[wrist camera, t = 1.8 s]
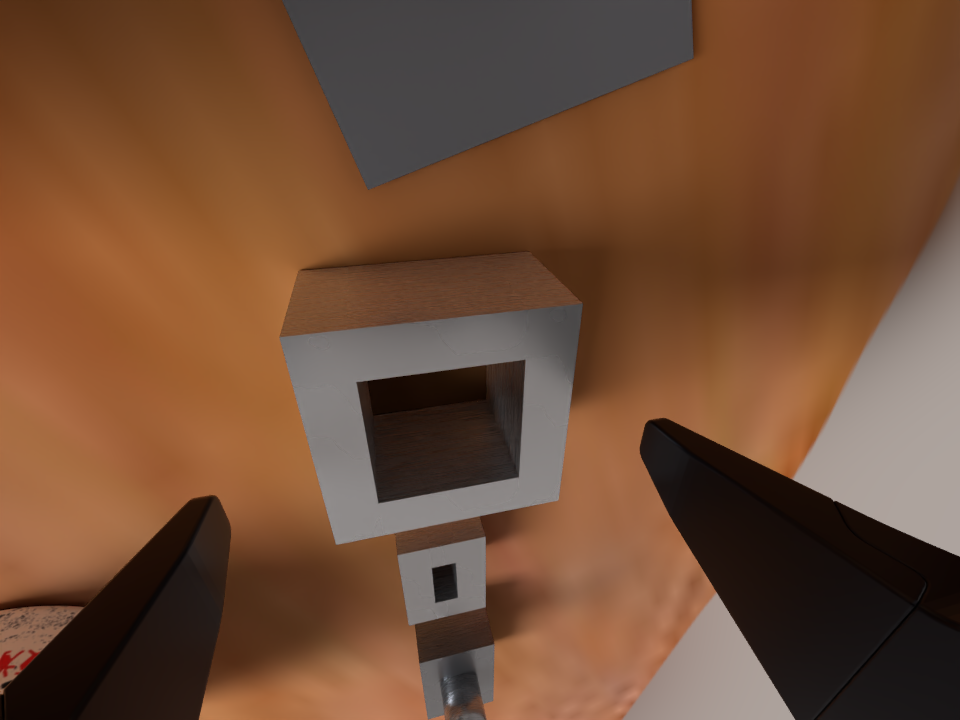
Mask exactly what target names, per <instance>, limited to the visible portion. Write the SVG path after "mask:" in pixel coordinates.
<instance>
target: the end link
mask: <svg viewBox="0 0 960 720" xmlns="http://www.w3.org/2000/svg"><path fill="white" fill-rule="evenodd" d="M582 307H583V303H582V302H581V301H580V300H579V299H578V298H577V297H576V296H575V295H574V294H573V293H572V292H570V291H569V290H568V289H567V288H566V287H565V286H564V285H563V284H562V283H561V282H560V281H559V280H558V279H557V278H556V277H555V276H554V275H553V274H552V273H551V272H550V271H549V270H548V269H547V268H546V267H545V266H544V265H543V264H542V263H541V262H540V261H538V260H537V259H536V258H535V257H534V256H533V255H532V254H531V253H530V252H529V251H527V252H515V253H504V254H492V255H480V256H468V257H456V258H445V259H433V260H421V261H409V262H397V263H385V264H374V265H362V266H350V267H338V268H326V269H315V270H303V271H298V274H297V277H296V281H295V285H294V288H293V292H292V295H291V299H290V302H289V306H288V309H287V313H286V316H285V320H284V323H283V327H282V330H281V334H280V341H281V345H282V348H283V352H284V356H285V359H286V363H287V367H288V370H289V374H290V378H291V381H292V385H293V389H294V392H295V396H296V400H297V403H298V407H299V411H300V414H301V418H302V422H303V425H304V429H305V433H306V436H307V440H308V444H309V447H310V451H311V455H312V458H313V462H314V466H315V469H316V473H317V477H318V480H319V484H320V488H321V491H322V495H323V499H324V502H325V506H326V510H327V513H328V517H329V521H330V524H331V528H332V532H333V535H334V539H335V543H336V545H338V544H343V543H348V542H353V541H358V540H363V539H368V538H373V537H378V536H383V535H388V534H393V533H398V532H403V531H408V530H413V529H418V528H423V527H428V526H433V525H438V524H443V523H448V522H453V521H458V520H463V519H468V518H473V517H478V516H483V515H488V514H493V513H498V512H503V511H508V510H513V509H518V508H523V507H528V506H533V505H538V504H543V503H548V502H553V501H558V500H559V492H560V484H561V476H562V468H563V460H564V452H565V444H566V436H567V428H568V420H569V412H570V404H571V395H572V387H573V379H574V371H575V363H576V355H577V347H578V339H579V331H580V323H581V315H582ZM482 365H486V399H483V400H476V401H469V402H462V403H456V404H449V405H442V406H436V407H429V408H422V409H415V410H409V411H402V412H395V413H388V414H382V415H375V416H373V413H372V406H371V400H370V394H369V388H368V382H367V381H369V380H377V379H384V378H392V377H399V376H407V375H414V374H422V373H429V372H437V371H444V370H452V369H459V368H467V367H474V366H482Z"/></svg>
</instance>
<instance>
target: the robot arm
mask: <svg viewBox="0 0 960 720" xmlns="http://www.w3.org/2000/svg"><path fill="white" fill-rule="evenodd" d="M640 455H641V458H642V460H643V462H644V464H645V466H646V468H647V470H648V472H649V474H650V476H651V479H652V481H653V483H654V485H655V487H656V489H657V491H658V493H659V495H660V497H661V499H662V501H663V503H664V505H665V507H666V509H667V511H668V513H669V515H670V517H671V519H672V520H673V522H674V524H675V525H676V527H677V529H678V530H679V532H680V533H681V535H682V537H683V538H684V540H685V542H686V543H687V545H688V546H689V548H690V550H691V551H692V553H693V555H694V556H695V558H696V559H697V561H698V563H699V564H700V566H701V568H702V569H703V571H704V572H705V574H706V576H707V577H708V579H709V581H710V582H711V584H712V585H713V587H714V589H715V590H716V592H717V593H718V595H719V597H720V598H721V600H722V601H723V603H724V605H725V606H726V608H727V610H728V611H729V613H730V615H731V616H732V618H733V619H734V621H735V623H736V624H737V626H738V627H739V629H740V631H741V632H742V634H743V636H744V637H745V639H746V641H747V642H748V644H749V645H750V647H751V649H752V650H753V652H754V653H755V655H756V657H757V658H758V660H759V661H760V663H761V665H762V666H763V668H764V670H765V671H766V673H767V675H768V676H769V678H770V679H771V681H772V683H773V684H774V686H775V688H776V689H777V691H778V692H779V694H780V696H781V697H782V699H783V701H784V702H785V704H786V705H787V707H788V708H789V710H790V712H791V713H792V715H793V717H794V718H795V720H960V557H959V556H957V555H954V554H952V553H950V552H947V551H945V550H943V549H940V548H938V547H936V546H933V545H931V544H929V543H926V542H924V541H922V540H919V539H917V538H915V537H913V536H910V535H908V534H906V533H903V532H901V531H899V530H897V529H894V528H892V527H890V526H888V525H885V524H883V523H881V522H879V521H877V520H875V519H873V518H870V517H868V516H866V515H864V514H862V513H860V512H858V511H856V510H854V509H852V508H849V507H847V506H846V505H843V504H841V503H839V502H837V501H834V502H833V500H832V499H831V498H829V497H827V496H825V495H823V494H821V493H819V492H816V491H814V490H812V489H810V488H808V487H806V486H804V485H802V484H800V483H798V482H796V481H794V480H792V479H790V478H788V477H786V476H784V475H782V474H780V473H778V472H776V471H773V470H771V469H769V468H767V467H765V466H763V465H761V464H759V463H757V462H755V461H753V460H751V459H749V458H747V457H745V456H743V455H741V454H739V453H736V452H734V451H732V450H730V449H728V448H726V447H724V446H722V445H720V444H718V443H716V442H714V441H712V440H710V439H708V438H706V437H704V436H702V435H700V434H697V433H695V432H693V431H691V430H689V429H687V428H685V427H683V426H681V425H679V424H677V423H675V422H673V421H671V420H669V419H666V418H659V419H653V420H649V421H647V423H646V424H645V427H644V432H643V436H642V440H641V444H640ZM230 539H231V527H230V523H229V520H228V518H227V516H226V514H225V511H224V509H223V507H222V505H221V502H220V500H219V499H218V497H217V496H215V495H209V496H203V497H198V498H193V499H191V500H190V501H188V502H187V503H186V504H185V505H184V506H183V507H182V508H181V509H180V510H179V511H178V512H177V513H176V514H175V515H174V516H173V517H172V518H171V519H170V520H169V521H168V523H167V524H166V525H165V526H164V527H163V528H162V529H161V530H160V531H159V532H158V533H157V534H156V535H155V536H154V537H153V538H152V539H151V540H150V541H149V542H148V543H147V544H146V545H145V546H144V547H143V548H142V549H141V550H140V551H139V552H138V553H137V554H136V555H135V556H134V557H133V558H132V559H131V560H130V561H129V562H128V563H127V564H126V565H125V566H124V567H123V568H122V569H121V570H120V571H119V572H118V573H117V574H116V575H115V576H114V577H113V578H112V579H111V580H110V581H109V582H108V583H107V584H106V586H105V587H104V588H103V589H102V590H101V591H100V592H99V593H98V594H97V595H96V596H95V597H94V598H93V599H92V600H91V601H90V602H89V603H88V604H87V605H86V606H85V607H84V608H83V609H82V610H81V611H80V612H79V613H78V614H77V615H76V616H75V617H74V618H73V619H72V620H71V621H70V622H69V623H68V624H67V625H66V626H65V627H64V628H63V629H62V630H61V631H60V632H59V633H58V634H57V635H56V636H55V637H54V638H53V639H52V640H51V641H50V642H49V643H48V644H47V645H46V646H45V647H44V649H43V650H42V651H41V652H40V653H39V654H38V655H37V656H36V657H35V658H34V659H33V660H32V661H31V662H30V663H29V664H28V665H27V666H26V667H25V668H24V669H23V670H22V671H21V672H20V673H19V674H18V675H17V676H16V677H15V678H14V679H13V680H12V681H11V682H10V683H9V684H8V685H7V686H6V687H5V688H4V690H3V694H0V720H199V716H200V712H201V707H202V703H203V698H204V694H205V690H206V685H207V681H208V676H209V672H210V667H211V663H212V659H213V654H214V650H215V645H216V641H217V637H218V632H219V628H220V623H221V617H222V611H223V604H224V595H225V586H226V577H227V567H228V558H229V549H230Z"/></svg>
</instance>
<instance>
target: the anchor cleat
mask: <svg viewBox="0 0 960 720" xmlns="http://www.w3.org/2000/svg"><path fill="white" fill-rule="evenodd" d="M415 629H416V638H417V646H418V655H419V664H420V670H421V677H422V683H423V690H424V696H425V703H426V709H427V716H428V719H431V718H435V717H438V716H442V715H445V720H486V715H485V710H484V706H483V704H484V703H488V702H491V701H493V686H494V641H493V637H492V633H491V629H490V625H489V621H488V617H487V613H486V609H485V607H484V608H480V609H476V610H472V611H468V612H464V613H459V614H455V615H451V616H447V617H443V618H439V619H435V620H430V621H426V622H422V623H418V624H415Z"/></svg>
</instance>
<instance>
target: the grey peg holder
mask: <svg viewBox="0 0 960 720" xmlns="http://www.w3.org/2000/svg"><path fill="white" fill-rule="evenodd" d="M282 1H283V4H284V6H285V8H286V10H287V12H288V15H289V17H290V19H291V21H292V23H293V26H294V28H295V30H296V32H297V34H298V37H299V39H300V41H301V43H302V45H303V48H304V50H305V52H306V54H307V56H308V59H309V61H310V63H311V65H312V67H313V70H314V72H315V74H316V76H317V78H318V81H319V83H320V85H321V87H322V89H323V92H324V94H325V96H326V98H327V100H328V103H329V105H330V107H331V109H332V111H333V114H334V116H335V118H336V120H337V122H338V125H339V127H340V129H341V131H342V134H343V136H344V138H345V140H346V142H347V145H348V147H349V149H350V151H351V153H352V156H353V158H354V160H355V162H356V164H357V167H358V169H359V171H360V173H361V175H362V178H363V180H364V182H365V184H366V186H367V189H368V190H369V189H371V188H374V187H376V186H379V185H381V184H384V183H386V182H389V181H391V180H394V179H396V178H399V177H401V176H404V175H406V174H409V173H411V172H414V171H416V170H418V169H421V168H423V167H426V166H428V165H431V164H433V163H436V162H438V161H441V160H443V159H446V158H448V157H451V156H453V155H456V154H458V153H461V152H463V151H465V150H468V149H470V148H473V147H475V146H478V145H480V144H483V143H485V142H488V141H490V140H493V139H495V138H498V137H500V136H503V135H505V134H508V133H510V132H513V131H515V130H517V129H520V128H522V127H525V126H527V125H530V124H532V123H535V122H537V121H540V120H542V119H545V118H547V117H550V116H552V115H555V114H557V113H560V112H562V111H564V110H567V109H569V108H572V107H574V106H577V105H579V104H582V103H584V102H587V101H589V100H592V99H594V98H597V97H599V96H602V95H604V94H607V93H609V92H612V91H614V90H616V89H619V88H621V87H624V86H626V85H629V84H631V83H634V82H636V81H639V80H641V79H644V78H646V77H649V76H651V75H654V74H656V73H659V72H661V71H663V70H666V69H668V68H671V67H673V66H676V65H678V64H681V63H683V62H686V61H688V60H691V59H693V30H692V3H691V0H282Z"/></svg>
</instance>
